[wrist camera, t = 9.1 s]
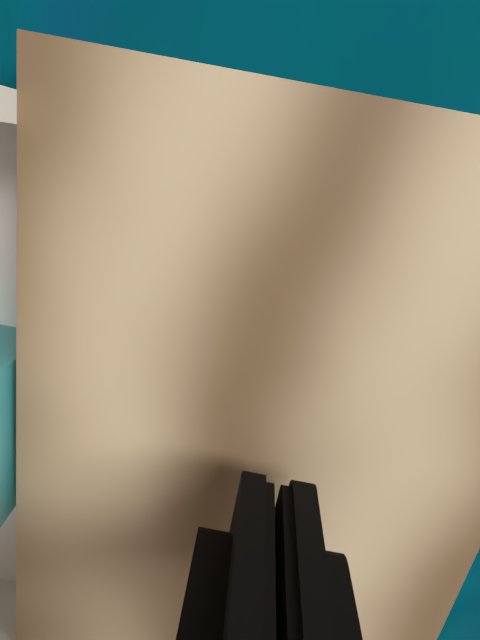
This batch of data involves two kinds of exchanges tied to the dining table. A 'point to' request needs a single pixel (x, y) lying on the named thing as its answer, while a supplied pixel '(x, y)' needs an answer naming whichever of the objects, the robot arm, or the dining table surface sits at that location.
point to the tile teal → (7, 421)
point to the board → (237, 333)
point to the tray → (3, 311)
